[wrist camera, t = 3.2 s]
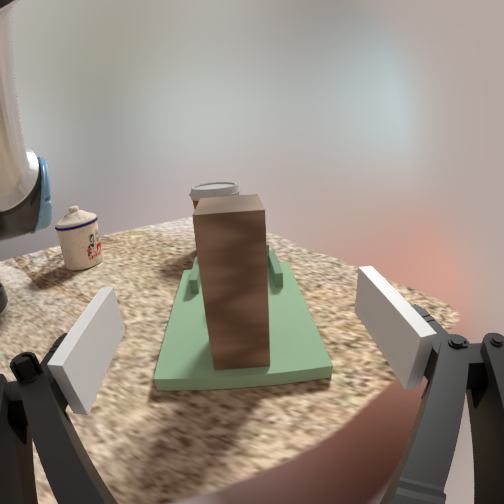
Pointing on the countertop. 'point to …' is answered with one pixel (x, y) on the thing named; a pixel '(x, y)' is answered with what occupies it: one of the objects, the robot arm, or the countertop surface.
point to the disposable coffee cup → (213, 191)
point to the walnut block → (234, 279)
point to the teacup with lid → (79, 239)
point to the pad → (280, 331)
